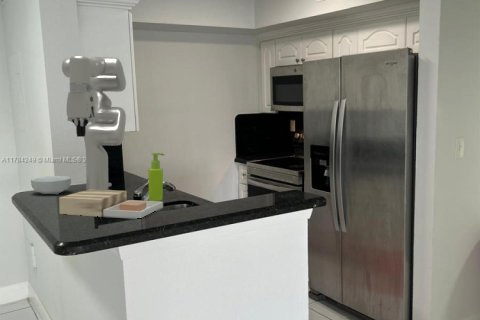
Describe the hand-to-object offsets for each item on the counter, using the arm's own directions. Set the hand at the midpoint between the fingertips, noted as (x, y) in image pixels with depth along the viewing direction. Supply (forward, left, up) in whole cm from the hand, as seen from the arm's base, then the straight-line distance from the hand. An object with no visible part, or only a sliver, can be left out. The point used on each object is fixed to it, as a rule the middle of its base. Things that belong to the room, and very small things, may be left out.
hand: (81, 136), depth 175 cm
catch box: (+8, +26, -27) cm, 38 cm away
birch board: (+8, +10, -27) cm, 30 cm away
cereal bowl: (-21, -28, -27) cm, 44 cm away
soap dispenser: (-18, +24, -27) cm, 41 cm away
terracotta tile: (+9, +26, -24) cm, 36 cm away
